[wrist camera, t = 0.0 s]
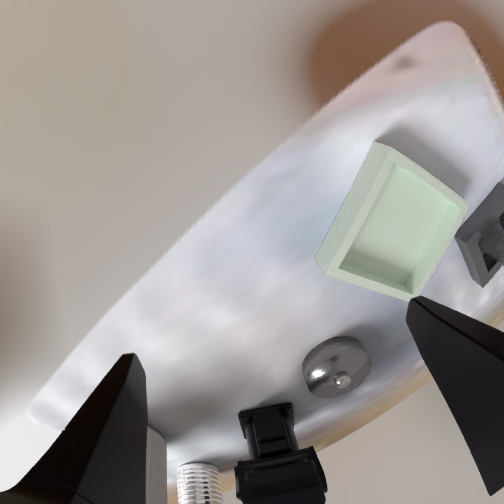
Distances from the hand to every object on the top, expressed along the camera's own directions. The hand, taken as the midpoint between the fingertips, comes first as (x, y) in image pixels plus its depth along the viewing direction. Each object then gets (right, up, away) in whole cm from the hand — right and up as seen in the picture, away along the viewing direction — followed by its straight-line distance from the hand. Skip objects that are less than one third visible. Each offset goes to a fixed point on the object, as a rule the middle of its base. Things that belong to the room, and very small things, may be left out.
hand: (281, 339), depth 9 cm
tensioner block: (+25, +5, +19) cm, 32 cm away
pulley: (+8, -9, +23) cm, 26 cm away
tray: (+11, +5, +16) cm, 20 cm away
